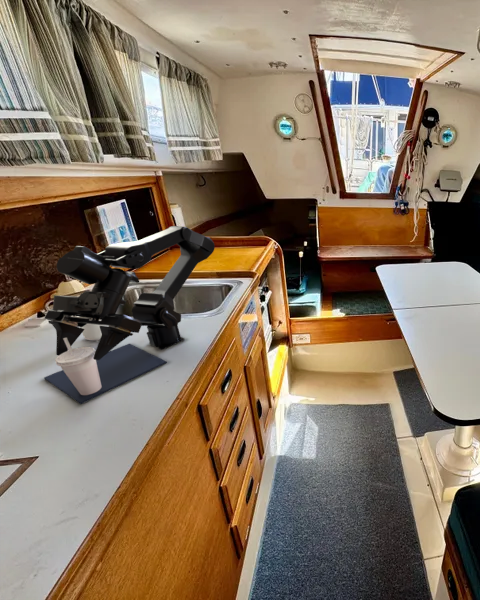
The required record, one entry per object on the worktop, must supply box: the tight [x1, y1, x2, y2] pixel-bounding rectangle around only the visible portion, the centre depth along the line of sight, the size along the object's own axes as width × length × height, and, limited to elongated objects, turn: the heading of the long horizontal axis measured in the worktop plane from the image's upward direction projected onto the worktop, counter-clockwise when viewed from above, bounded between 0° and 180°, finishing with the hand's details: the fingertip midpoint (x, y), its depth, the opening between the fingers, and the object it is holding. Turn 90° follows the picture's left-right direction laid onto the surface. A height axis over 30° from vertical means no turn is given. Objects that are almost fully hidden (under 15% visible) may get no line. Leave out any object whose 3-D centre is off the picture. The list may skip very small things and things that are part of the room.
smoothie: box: [54, 338, 102, 395], centre depth 71 cm, size 6×6×14 cm
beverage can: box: [79, 320, 106, 341], centre depth 93 cm, size 6×6×12 cm
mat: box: [43, 343, 168, 405], centre depth 81 cm, size 18×18×1 cm
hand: (77, 357), depth 71 cm, fingers open, 9 cm apart
